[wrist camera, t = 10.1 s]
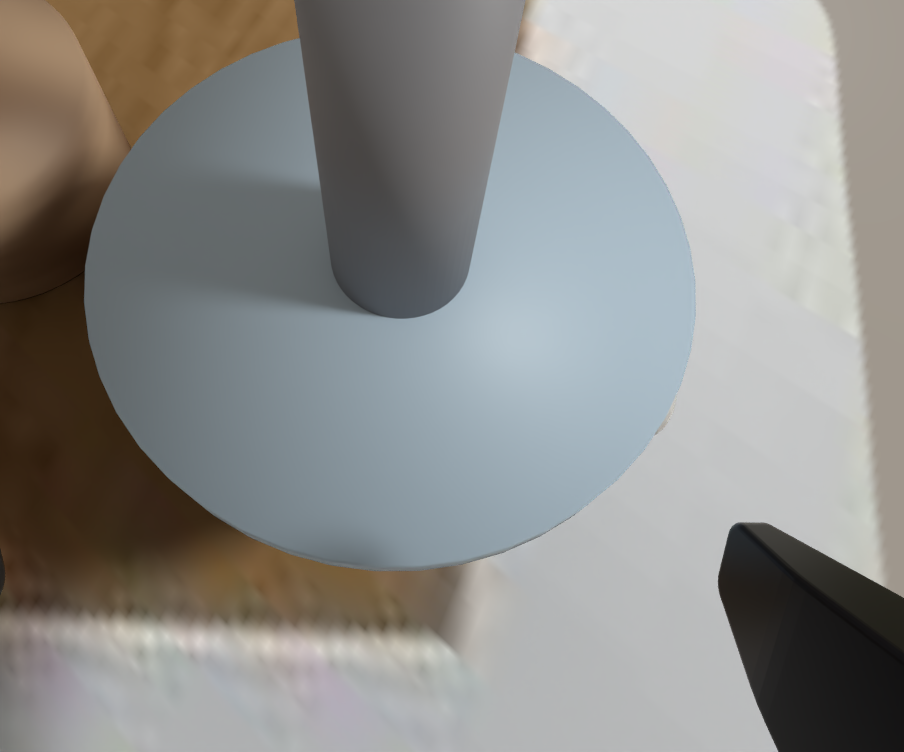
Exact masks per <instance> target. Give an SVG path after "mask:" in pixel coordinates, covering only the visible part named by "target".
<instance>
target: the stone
mask: <svg viewBox="0 0 904 752" xmlns="http://www.w3.org/2000/svg"><path fill="white" fill-rule="evenodd" d="M130 150H131V147H130V145H129V143H128V141H127V139H126V137H125V135H124V133H123V131H122V129H121V127H120V125H119V123H118V121H117V119H116V117H115V115H114V113H113V111H112V109H111V107H110V105H109V103H108V101H107V99H106V97H105V95H104V93H103V91H102V89H101V86H100V84H99V82H98V80H97V78H96V76H95V74H94V72H93V70H92V68H91V66H90V64H89V62H88V60H87V58H86V56H85V54H84V52H83V50H82V48H81V46H80V44H79V42H78V40H77V38H76V36H75V34H74V33H73V31H72V29H71V28H70V26H69V24H68V23H67V22H66V20H65V19H64V18H63V17H62V16H61V14H60V13H59V12H58V11H57V10H56V9H55V8H53V7H52V6H51V5H50V4H49V3H48V2H47V1H45V0H0V303H8V302H13V301H17V300H22V299H26V298H29V297H32V296H35V295H39V294H42V293H45V292H47V291H49V290H51V289H54V288H56V287H58V286H60V285H62V284H64V283H66V282H68V281H69V280H71V279H73V278H74V277H76V276H78V275H79V274H81V273H82V272H83V271H85V264H86V259H87V253H88V248H89V243H90V238H91V232H92V228H93V225H94V223H95V220H96V217H97V214H98V211H99V208H100V205H101V203H102V200H103V197H104V195H105V193H106V191H107V189H108V187H109V185H110V183H111V181H112V179H113V178H114V176H115V174H116V172H117V170H118V168H119V166H120V164H121V163H122V162H123V160H124V159H125V157H126V156H127V155H128V153H129V152H130Z"/></svg>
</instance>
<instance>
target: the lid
mask: <svg viewBox="0 0 904 752" xmlns="http://www.w3.org/2000/svg"><path fill="white" fill-rule="evenodd" d="M294 1H295V8H296V15H297V22H298V30H299V37H300V38H299V39H295V40H291V41H287V42H283V43H280V44H278V45H275V46H272V47H270V48H267V49H264V50H261V51H259V52H256V53H253V54H251V55H249V56H247V57H245V58H243V59H241V60H239V61H237V62H235V63H233V64H231V65H229V66H227V67H225V68H223V69H221V70H219V71H217V72H216V73H214V74H213V75H211V76H210V77H208V78H207V79H205V80H204V81H202V82H200V83H199V84H197V85H196V86H194V87H193V88H191V89H190V90H189V91H188V92H186V93H185V94H184V95H183V96H182V97H180V98H179V99H178V100H177V101H176V102H174V103H173V104H172V105H171V106H170V107H168V108H167V109H166V110H165V111H164V112H163V113H162V114H161V115H160V116H159V117H158V118H157V119H156V120H155V121H154V122H153V124H152V125H151V126H150V127H149V128H148V129H147V130H146V131H145V132H144V133H143V134H142V135H141V136H140V138H139V139H138V141H137V142H136V143H135V145H134V146H133V148H132V149H131V150H130V152H129V153H128V155H127V156H126V157H125V159H124V160H123V162H122V163H121V164H120V166H119V168H118V170H117V172H116V174H115V176H114V178H113V179H112V181H111V183H110V185H109V187H108V189H107V191H106V193H105V195H104V197H103V200H102V203H101V205H100V208H99V211H98V214H97V217H96V220H95V223H94V225H93V228H92V232H91V238H90V243H89V248H88V253H87V259H86V264H85V289H84V306H85V314H86V322H87V330H88V338H89V342H90V346H91V349H92V352H93V356H94V359H95V363H96V366H97V370H98V373H99V377H100V379H101V381H102V383H103V385H104V387H105V389H106V391H107V394H108V396H109V398H110V400H111V402H112V404H113V406H114V409H115V411H116V413H117V414H118V416H119V417H120V419H121V420H122V422H123V423H124V425H125V426H126V428H127V429H128V431H129V432H130V434H131V435H132V436H133V438H134V439H135V441H136V442H137V444H138V445H139V447H140V448H141V449H142V450H143V451H144V452H145V453H146V454H147V456H148V457H149V458H150V459H151V460H152V461H153V462H154V463H155V464H156V465H157V466H158V468H159V469H160V470H161V471H162V472H163V473H164V474H165V475H166V476H167V477H168V478H169V479H170V480H171V481H172V482H173V483H175V484H176V485H177V486H178V487H179V488H180V489H182V490H183V491H184V492H185V493H186V494H188V495H189V496H190V497H191V498H193V499H194V500H195V501H196V502H198V503H199V504H200V505H201V506H203V507H204V508H205V509H206V510H207V511H209V512H210V513H211V514H212V515H214V516H215V517H217V518H218V519H220V520H222V521H224V522H225V523H227V524H229V525H230V526H232V527H234V528H235V529H237V530H239V531H240V532H242V533H244V534H245V535H247V536H249V537H250V538H253V539H255V540H257V541H260V542H262V543H265V544H267V545H269V546H272V547H274V548H276V549H279V550H281V551H284V552H286V553H288V554H291V555H295V556H298V557H302V558H306V559H310V560H313V561H317V562H321V563H325V564H328V565H332V566H340V567H348V568H356V569H364V570H371V571H420V570H427V569H434V568H441V567H448V566H455V565H462V564H465V563H469V562H472V561H476V560H479V559H483V558H486V557H490V556H493V555H497V554H500V553H503V552H506V551H508V550H510V549H513V548H515V547H517V546H519V545H522V544H524V543H526V542H528V541H531V540H533V539H535V538H537V537H540V536H542V535H543V534H545V533H546V532H548V531H550V530H551V529H553V528H554V527H556V526H558V525H559V524H561V523H563V522H564V521H566V520H567V519H569V518H571V517H572V516H574V515H575V514H576V513H578V512H579V511H580V510H581V509H583V508H584V507H585V506H586V505H588V504H589V503H590V502H591V501H592V500H594V499H595V498H596V497H597V496H598V495H600V494H601V493H602V492H603V491H604V490H606V489H607V488H608V487H609V486H610V485H612V484H613V483H614V482H615V481H616V480H618V479H619V478H620V476H621V475H622V474H623V473H624V472H625V471H626V470H627V469H628V468H629V466H630V465H631V464H632V463H633V462H634V461H635V460H636V459H637V457H638V456H639V455H640V454H641V453H642V452H643V451H644V450H645V448H646V447H647V445H648V444H649V442H650V441H651V439H652V437H653V436H654V434H655V433H656V431H657V430H658V428H659V427H660V425H661V424H662V422H663V421H664V419H665V418H666V416H667V413H668V411H669V409H670V407H671V405H672V403H673V400H674V398H675V396H676V394H677V392H678V390H679V387H680V385H681V382H682V379H683V376H684V372H685V369H686V365H687V362H688V358H689V355H690V351H691V346H692V339H693V331H694V324H695V316H696V302H695V276H694V270H693V264H692V257H691V251H690V246H689V243H688V239H687V236H686V233H685V229H684V226H683V223H682V220H681V216H680V214H679V212H678V209H677V207H676V205H675V203H674V201H673V198H672V196H671V194H670V192H669V190H668V187H667V185H666V184H665V182H664V180H663V179H662V177H661V176H660V174H659V172H658V171H657V169H656V167H655V166H654V164H653V163H652V161H651V159H650V158H649V156H648V155H647V154H646V153H645V151H644V150H643V149H642V148H641V146H640V145H639V144H638V143H637V141H636V140H635V139H634V138H633V136H632V135H631V134H630V133H629V131H628V130H627V129H626V128H625V127H624V126H623V125H622V124H620V123H619V122H618V121H617V120H616V119H615V118H614V117H613V116H612V115H611V114H610V113H609V112H608V111H607V110H606V109H605V108H604V107H603V106H602V105H600V104H599V103H598V102H597V101H595V100H594V99H593V98H591V97H590V96H589V95H588V94H586V93H585V92H584V91H583V90H581V89H580V88H579V87H577V86H576V85H574V84H572V83H571V82H569V81H568V80H566V79H564V78H563V77H561V76H560V75H558V74H556V73H555V72H553V71H552V70H550V69H548V68H546V67H544V66H542V65H540V64H538V63H536V62H534V61H532V60H530V59H528V58H525V57H523V56H521V55H519V54H517V53H514V52H515V47H516V43H517V38H518V33H519V28H520V23H521V19H522V14H523V9H524V4H525V0H294Z"/></svg>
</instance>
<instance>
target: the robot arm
mask: <svg viewBox="0 0 904 752" xmlns="http://www.w3.org/2000/svg"><path fill="white" fill-rule="evenodd" d="M4 582H5V567H4V563H3V559H2V554H1V550H0V595H1V592H2V590H3V586H4ZM718 588H719V594H720V597H721V600H722V603H723V606H724V609H725V612H726V615H727V618H728V621H729V624H730V627H731V630H732V633H733V636H734V639H735V642H736V645H737V648H738V651H739V654H740V657H741V660H742V663H743V665H744V668H745V671H746V674H747V677H748V680H749V683H750V686H751V689H752V692H753V694H754V697H755V700H756V702H757V705H758V707H759V710H760V712H761V714H762V716H763V719H764V721H765V723H766V726H767V728H768V730H769V732H770V734H771V736H772V739H773V741H774V743H775V745H776V747H777V750H778V752H904V598H903V597H901V596H899V595H898V594H896V593H894V592H892V591H890V590H889V589H887V588H885V587H883V586H881V585H879V584H878V583H876V582H874V581H872V580H870V579H868V578H867V577H865V576H863V575H861V574H859V573H857V572H856V571H854V570H852V569H850V568H848V567H846V566H845V565H843V564H841V563H839V562H837V561H836V560H834V559H832V558H830V557H828V556H826V555H825V554H823V553H821V552H819V551H817V550H815V549H814V548H812V547H810V546H808V545H806V544H804V543H803V542H801V541H799V540H797V539H795V538H794V537H792V536H790V535H788V534H786V533H784V532H783V531H781V530H779V529H777V528H775V527H773V526H772V525H770V524H767V523H743V522H741V523H736V524H735V525H733V526H732V528H731V529H730V531H729V534H728V538H727V542H726V546H725V550H724V554H723V558H722V562H721V566H720V571H719V575H718Z"/></svg>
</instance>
